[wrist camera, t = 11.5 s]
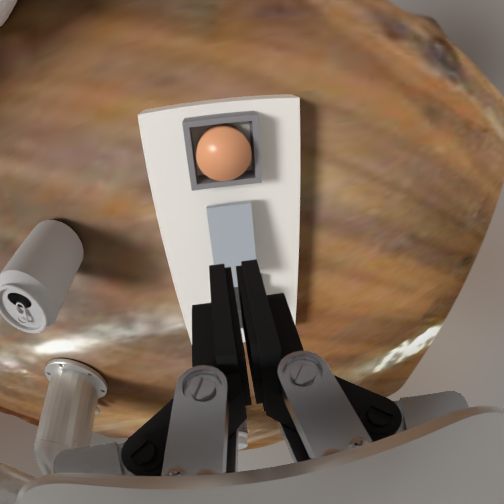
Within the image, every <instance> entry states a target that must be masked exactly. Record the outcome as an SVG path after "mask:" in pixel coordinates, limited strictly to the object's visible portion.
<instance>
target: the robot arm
mask: <svg viewBox="0 0 504 504" xmlns="http://www.w3.org/2000/svg"><path fill="white" fill-rule="evenodd" d="M236 273H237V282H238V291H239V299H240V308H241V316H242V324H243V330H244V336H245V342H246V348H247V353H248V359H249V365H250V370H251V376H252V381H253V387H254V392H255V398H256V403H257V404H259V403H263V407H264V411H266V414H267V416H269V417H271V418H273V419H274V420H276V421H277V422H278V426H279V428H280V430H281V433H282V435H283V438H284V440H285V442H286V445H287V447H288V449H289V452H290V454H291V456H292V459H293V461H294V463H292V464H287V465H281V466H276V467H270V468H264V469H257V470H250V471H242V472H237V469H238V468H237V467H238V436H239V430H238V428H239V426H240V425H241V424H242V423H243V422H244V421H245V420H246V419H247V415H246V408H245V406H246V405H252V404H251V397H250V390H249V382H248V375H247V367H246V359H245V352H244V346H243V340H242V334H241V328H240V321H239V315H238V309H237V303H236V296H235V290H234V284H233V277H232V271H231V267H226V268H225V265H224V264H217V265H209V275H210V292H211V303H205V304H197V305H192V368H189V369H188V370H186V371H185V372H183V374H182V375H181V376H180V377H179V379H178V381H177V384H176V389H175V395H174V398H173V399H172V400H171V401H170V402H169V403H168V404H167V405H165V406H164V407H163V408H162V409H161V410H160V411H159V412H158V413H157V414H155V415H154V416H153V417H152V418H151V419H150V420H149V421H148V422H147V423H145V424H144V425H143V426H142V427H141V428H140V429H139V430H137V431H136V432H135V433H134V434H133V435H132V436H131V437H129V438H128V440H127V441H126V442H124V443H119V444H117V443H116V442H111V443H106V444H100V445H94V446H90V444H91V437H92V429H93V422H94V416H95V414H99V413H100V409H99V408H98V407H97V402H98V399H99V398H101V397H103V396H105V394H106V393H107V383H106V381H105V379H104V378H103V377H102V376H101V375H100V374H99V373H98V372H97V371H95V370H94V369H92V368H90V367H89V366H87V365H85V364H82V363H80V362H77V361H74V360H70V359H61V358H59V359H53V360H50V361H49V362H48V363H47V365H46V368H45V374H46V376H47V378H48V380H49V381H50V382H49V386H48V390H47V393H46V397H45V401H44V405H43V409H42V413H41V417H40V422H39V426H38V431H37V436H36V441H35V446H34V455H35V458H36V461H37V464H38V466H39V467H40V469H41V471H42V472H43V474H44V476H42V477H39V478H36V477H34V476H31V475H28V474H26V473H24V472H22V471H19V470H17V469H15V468H12V467H10V466H8V465H5V464H3V463H0V504H504V408H502V407H497V406H475V407H468V404H467V402H466V400H465V398H464V397H463V396H462V395H461V394H460V393H458V392H455V391H445V392H440V393H433V394H427V395H420V396H413V397H404V398H400V400H399V401H391V400H389V399H388V398H386V397H383V396H381V395H378V394H376V393H373V392H371V391H369V390H366V389H364V388H362V387H359V386H357V385H355V384H352V383H350V382H348V381H346V380H343V379H341V378H339V377H337V376H334V375H333V373H332V371H331V370H330V368H329V366H328V364H327V363H326V361H325V360H324V359H323V358H322V357H321V356H319V355H318V354H316V353H313V352H310V351H304V350H303V347H302V344H301V341H300V338H299V335H298V332H297V329H296V326H295V323H294V321H293V318H292V315H291V312H290V309H289V306H288V303H287V300H286V297H285V295H284V293H278V294H271V295H267V294H266V291H265V287H264V284H263V280H262V276H261V273H260V269H259V266H258V262H257V259H255V260H248V261H241V266H236Z"/></svg>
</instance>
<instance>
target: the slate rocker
mask: <svg viewBox="0 0 504 504" xmlns="http://www.w3.org/2000/svg"><path fill="white" fill-rule="evenodd" d="M206 210H207V218H208V225H209V233H210V240H211V248H212V255H213V262H214V265H217V264H224V265H225V268H226V267H231V271H232V277H233V284H234V287H238V282H237V273H236V266H241V261H248V260H255V259H256V251H255V240H254V229H253V218H252V207H251V202H250V201H242V202H233V203H225V204H216V205H208V206H207V207H206Z"/></svg>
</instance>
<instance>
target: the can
mask: <svg viewBox="0 0 504 504" xmlns="http://www.w3.org/2000/svg"><path fill="white" fill-rule="evenodd" d="M83 254H84V251H83V246H82V243H81V241H80V239H79V237H78V235H77V234H76V233H75V232H74V231H73V230H72V229H71V228H70V227H69V226H67V225H66V224H64V223H62V222H59V221H56V220H45V221H43V222H40V223H38V224H37V226H36V227H35V228H34V229H33V230H32V232H31V233H30V234H29V235H28V237H27V238H26V239H25V240H24V242H23V243H22V244H21V246H20V247H19V248H18V250H17V251H16V252H15V254H14V255H13V257H12V258H11V259H10V261H9V262H8V264H7V265H6V266H5V268H4V269H3V271H2V272H1V274H0V313H1V314H2V316H3V317H4V318H5V319H6V320H7V321H8V322H9V323H10V324H11V325H13V326H14V327H16V328H18V329H19V330H22V331H24V332H27V333H39V332H42V331H43V330H45V329H46V326H50V325H51V324H52V323H54V322H55V320H56V318H57V315H58V313H59V311H60V308H61V306H62V303H63V301H64V299H65V297H66V294H67V292H68V290H69V288H70V286H71V283H72V281H73V279H74V277H75V275H76V273H77V271H78V269H79V266H80V264H81V262H82V260H83Z"/></svg>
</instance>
